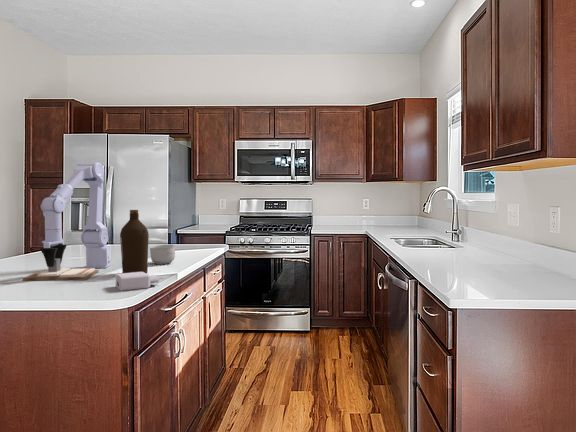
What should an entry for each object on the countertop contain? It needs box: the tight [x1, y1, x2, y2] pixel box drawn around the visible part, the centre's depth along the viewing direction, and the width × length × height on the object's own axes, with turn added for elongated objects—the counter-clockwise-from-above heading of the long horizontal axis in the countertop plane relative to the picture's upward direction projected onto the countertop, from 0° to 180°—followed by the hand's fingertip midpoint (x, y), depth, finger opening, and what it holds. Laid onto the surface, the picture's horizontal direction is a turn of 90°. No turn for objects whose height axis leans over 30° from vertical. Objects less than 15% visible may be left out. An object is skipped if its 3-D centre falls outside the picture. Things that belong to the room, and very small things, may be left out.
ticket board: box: [22, 269, 99, 282], centre depth 187 cm, size 22×16×1 cm
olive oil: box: [119, 209, 149, 274], centre depth 193 cm, size 11×11×25 cm
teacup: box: [149, 244, 176, 265], centre depth 221 cm, size 14×11×8 cm
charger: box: [115, 272, 164, 292], centre depth 168 cm, size 5×9×15 cm
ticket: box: [59, 268, 96, 277], centre depth 187 cm, size 9×14×1 cm, turn 6°
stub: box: [37, 258, 71, 277], centre depth 186 cm, size 7×14×5 cm, turn 6°
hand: (54, 265), depth 186 cm, fingers open, 7 cm apart
